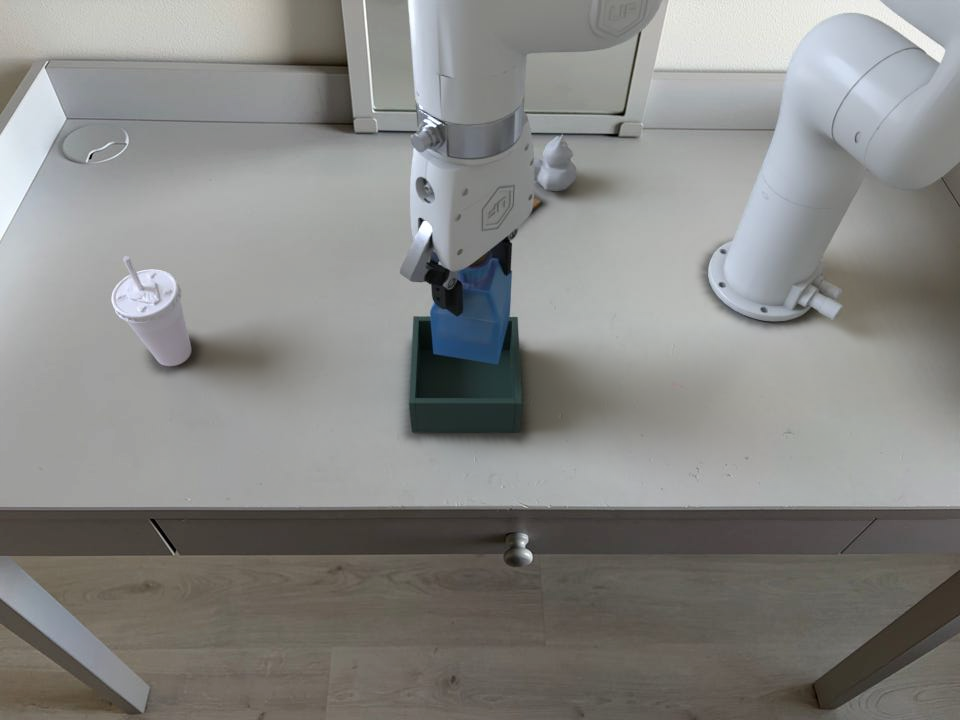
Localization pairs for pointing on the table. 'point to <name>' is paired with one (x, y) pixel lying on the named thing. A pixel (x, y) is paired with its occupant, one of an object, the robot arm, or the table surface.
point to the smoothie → (154, 312)
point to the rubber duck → (555, 166)
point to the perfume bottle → (475, 314)
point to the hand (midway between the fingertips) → (471, 285)
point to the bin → (464, 386)
